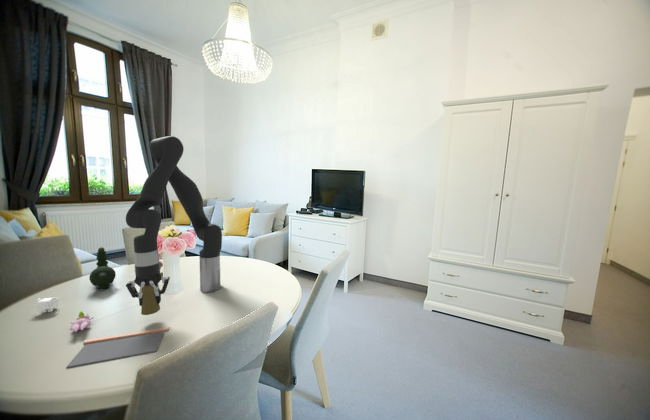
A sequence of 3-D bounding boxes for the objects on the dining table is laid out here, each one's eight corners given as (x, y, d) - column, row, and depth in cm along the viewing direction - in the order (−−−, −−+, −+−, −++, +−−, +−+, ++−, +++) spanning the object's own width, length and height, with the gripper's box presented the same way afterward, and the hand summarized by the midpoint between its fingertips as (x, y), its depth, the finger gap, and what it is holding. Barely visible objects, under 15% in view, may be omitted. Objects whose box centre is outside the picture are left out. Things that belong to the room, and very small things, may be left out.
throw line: (169, 328, 91) (168, 326, 91) (168, 330, 90) (168, 329, 90) (85, 341, 82) (85, 339, 82) (83, 344, 81) (83, 342, 81)
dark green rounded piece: (91, 283, 129) (89, 296, 111) (88, 247, 128) (86, 255, 110) (115, 278, 136) (117, 291, 117) (112, 244, 135) (114, 251, 116)
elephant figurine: (28, 317, 95) (27, 302, 94) (47, 306, 103) (46, 293, 102) (50, 315, 96) (48, 301, 95) (66, 305, 104) (65, 292, 103)
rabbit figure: (72, 325, 93) (66, 339, 82) (71, 309, 93) (64, 321, 82) (95, 319, 97) (91, 332, 86) (94, 304, 97) (90, 315, 86)
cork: (150, 315, 91) (148, 287, 90) (136, 313, 92) (134, 286, 91) (164, 307, 97) (162, 280, 96) (150, 305, 98) (148, 279, 97)
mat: (164, 333, 88) (164, 332, 88) (156, 351, 79) (156, 350, 79) (85, 345, 80) (85, 344, 80) (66, 368, 71) (66, 366, 71)
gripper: (171, 257, 98) (173, 297, 100) (127, 260, 93) (131, 303, 95) (167, 263, 91) (170, 306, 94) (119, 267, 86) (124, 313, 88)
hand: (150, 304), depth 94 cm, fingers closed on cork, 4 cm apart
